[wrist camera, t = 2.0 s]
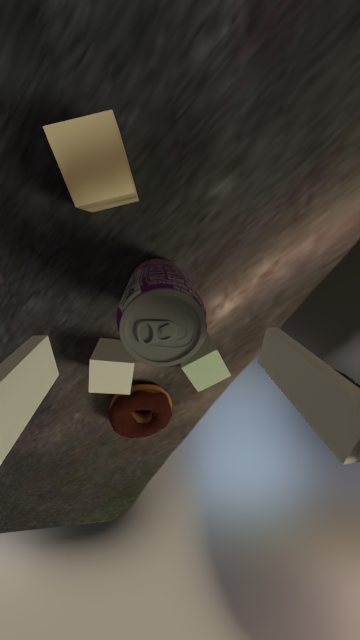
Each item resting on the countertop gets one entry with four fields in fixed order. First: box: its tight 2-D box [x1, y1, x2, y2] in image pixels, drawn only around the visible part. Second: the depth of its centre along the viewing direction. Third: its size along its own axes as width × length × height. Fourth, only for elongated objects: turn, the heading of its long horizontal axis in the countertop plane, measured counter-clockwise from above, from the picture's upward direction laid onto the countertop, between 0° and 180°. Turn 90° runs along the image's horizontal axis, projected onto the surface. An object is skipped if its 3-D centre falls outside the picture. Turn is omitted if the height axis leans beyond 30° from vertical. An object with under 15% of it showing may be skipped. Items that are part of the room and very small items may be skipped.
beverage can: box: [117, 259, 207, 367], centre depth 19 cm, size 7×7×12 cm
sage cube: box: [180, 331, 231, 392], centre depth 27 cm, size 5×5×5 cm
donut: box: [109, 384, 172, 438], centre depth 31 cm, size 10×10×4 cm
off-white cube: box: [89, 338, 135, 395], centre depth 25 cm, size 5×5×5 cm
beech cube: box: [43, 110, 139, 212], centre depth 17 cm, size 5×5×5 cm
